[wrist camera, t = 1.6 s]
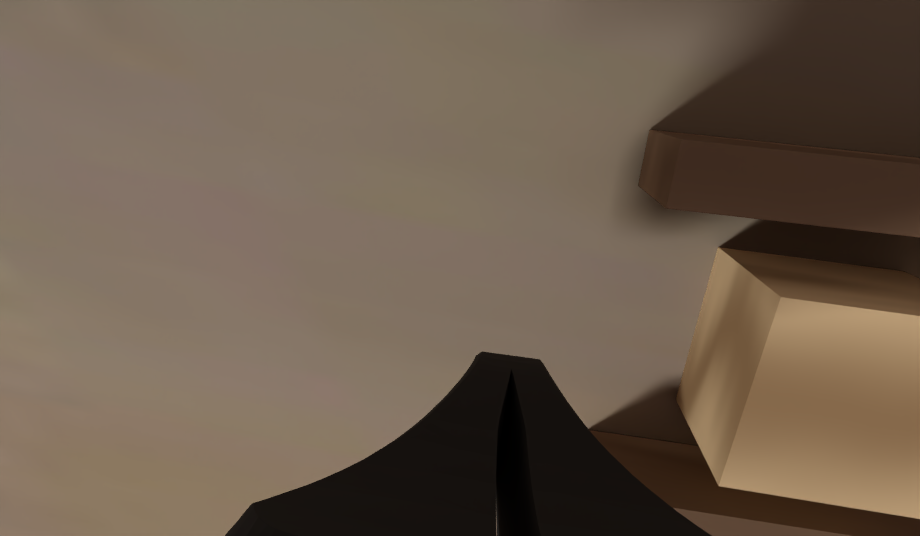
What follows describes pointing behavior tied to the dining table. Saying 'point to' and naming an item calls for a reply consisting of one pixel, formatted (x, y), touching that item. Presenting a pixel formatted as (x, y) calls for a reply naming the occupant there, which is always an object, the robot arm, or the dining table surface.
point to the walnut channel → (786, 200)
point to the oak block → (808, 381)
